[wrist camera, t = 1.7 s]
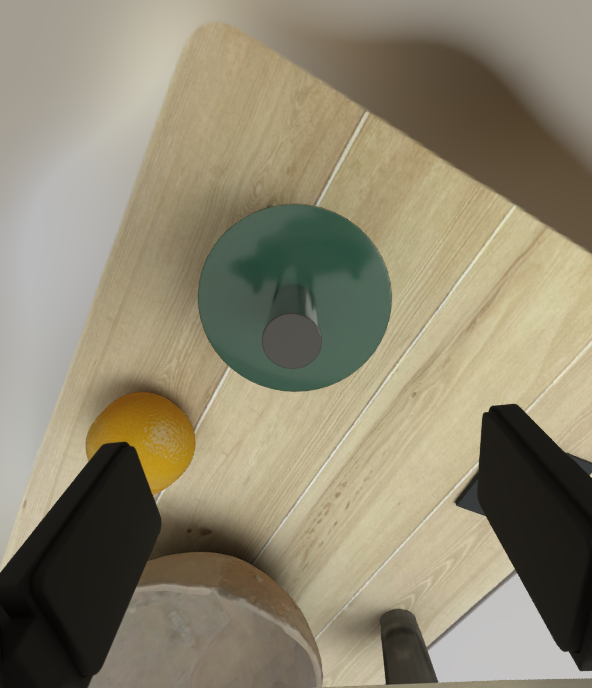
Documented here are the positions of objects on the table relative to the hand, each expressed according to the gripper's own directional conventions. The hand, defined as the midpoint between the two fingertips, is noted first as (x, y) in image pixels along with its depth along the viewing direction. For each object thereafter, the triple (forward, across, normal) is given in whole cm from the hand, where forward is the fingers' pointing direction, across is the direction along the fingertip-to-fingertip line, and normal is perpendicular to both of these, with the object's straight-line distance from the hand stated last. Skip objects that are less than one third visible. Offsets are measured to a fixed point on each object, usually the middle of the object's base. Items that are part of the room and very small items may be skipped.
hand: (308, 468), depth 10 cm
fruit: (+22, +16, +12) cm, 30 cm away
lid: (+14, +1, 0) cm, 14 cm away
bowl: (+22, +16, +36) cm, 45 cm away
